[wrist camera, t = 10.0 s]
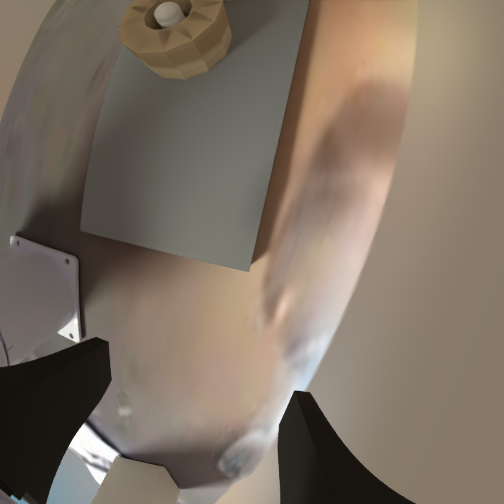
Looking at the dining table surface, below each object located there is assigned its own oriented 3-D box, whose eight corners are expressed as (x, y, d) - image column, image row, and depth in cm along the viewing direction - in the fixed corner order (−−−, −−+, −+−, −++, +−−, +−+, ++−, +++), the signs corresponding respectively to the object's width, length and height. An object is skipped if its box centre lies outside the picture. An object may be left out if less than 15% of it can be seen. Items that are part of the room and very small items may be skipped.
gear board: (91, 227, 18) (35, 243, 12) (181, -45, 12) (163, -83, 6) (250, 265, 18) (241, 303, 12) (317, -37, 12) (327, -81, 6)
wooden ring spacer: (136, 78, 14) (105, 56, 10) (162, 14, 13) (141, -16, 9) (218, 82, 14) (203, 53, 10) (240, 15, 12) (232, -22, 9)
